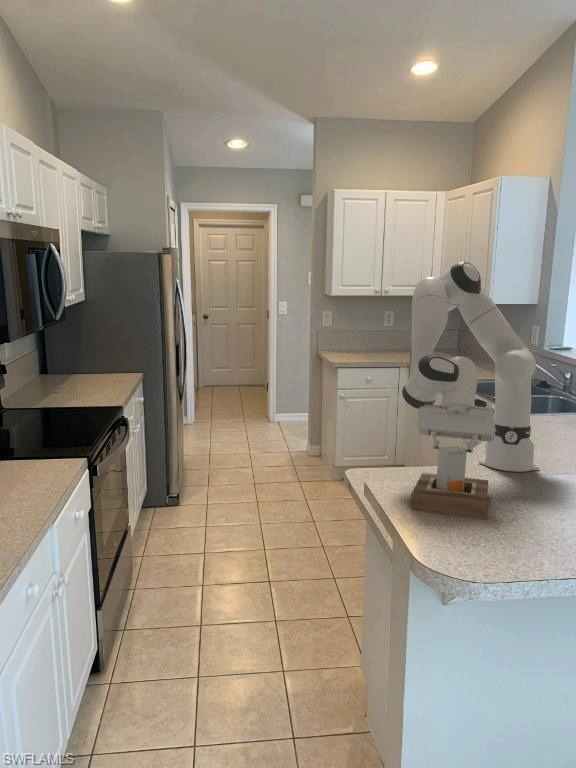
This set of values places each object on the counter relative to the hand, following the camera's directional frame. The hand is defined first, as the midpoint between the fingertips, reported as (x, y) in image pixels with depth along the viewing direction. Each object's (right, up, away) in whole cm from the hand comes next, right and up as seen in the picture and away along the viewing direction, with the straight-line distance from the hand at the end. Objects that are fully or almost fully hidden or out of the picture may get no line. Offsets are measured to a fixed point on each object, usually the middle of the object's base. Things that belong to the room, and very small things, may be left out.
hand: (452, 449), depth 151 cm
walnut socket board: (0, -14, +2) cm, 14 cm away
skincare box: (0, -12, +2) cm, 12 cm away
